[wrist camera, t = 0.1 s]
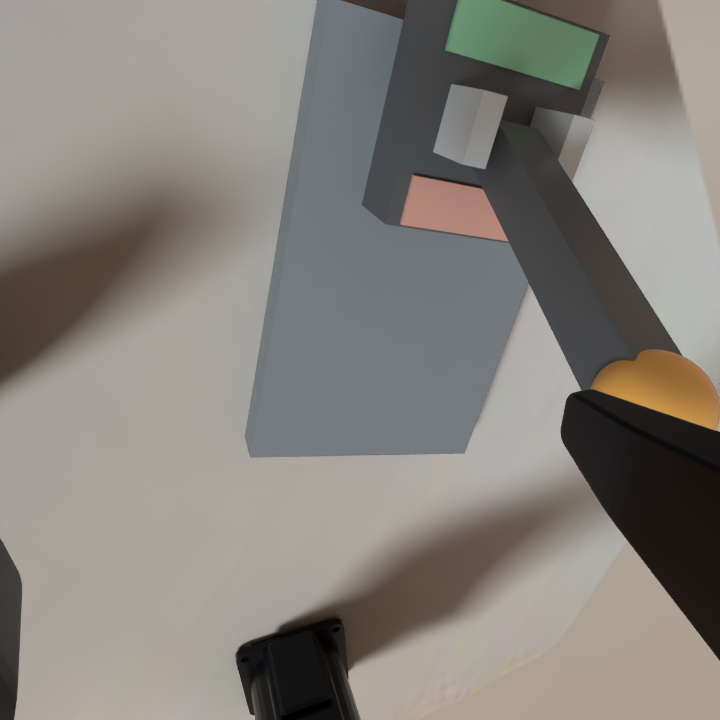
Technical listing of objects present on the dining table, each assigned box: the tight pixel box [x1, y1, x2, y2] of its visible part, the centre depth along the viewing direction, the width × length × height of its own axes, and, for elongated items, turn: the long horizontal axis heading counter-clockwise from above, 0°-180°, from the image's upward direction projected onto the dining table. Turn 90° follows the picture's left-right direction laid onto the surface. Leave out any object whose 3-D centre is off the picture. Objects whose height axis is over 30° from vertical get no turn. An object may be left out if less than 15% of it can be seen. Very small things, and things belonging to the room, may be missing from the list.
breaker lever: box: [472, 120, 720, 431], centre depth 15 cm, size 3×3×11 cm
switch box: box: [245, 0, 610, 457], centre depth 22 cm, size 18×11×6 cm, turn 167°
